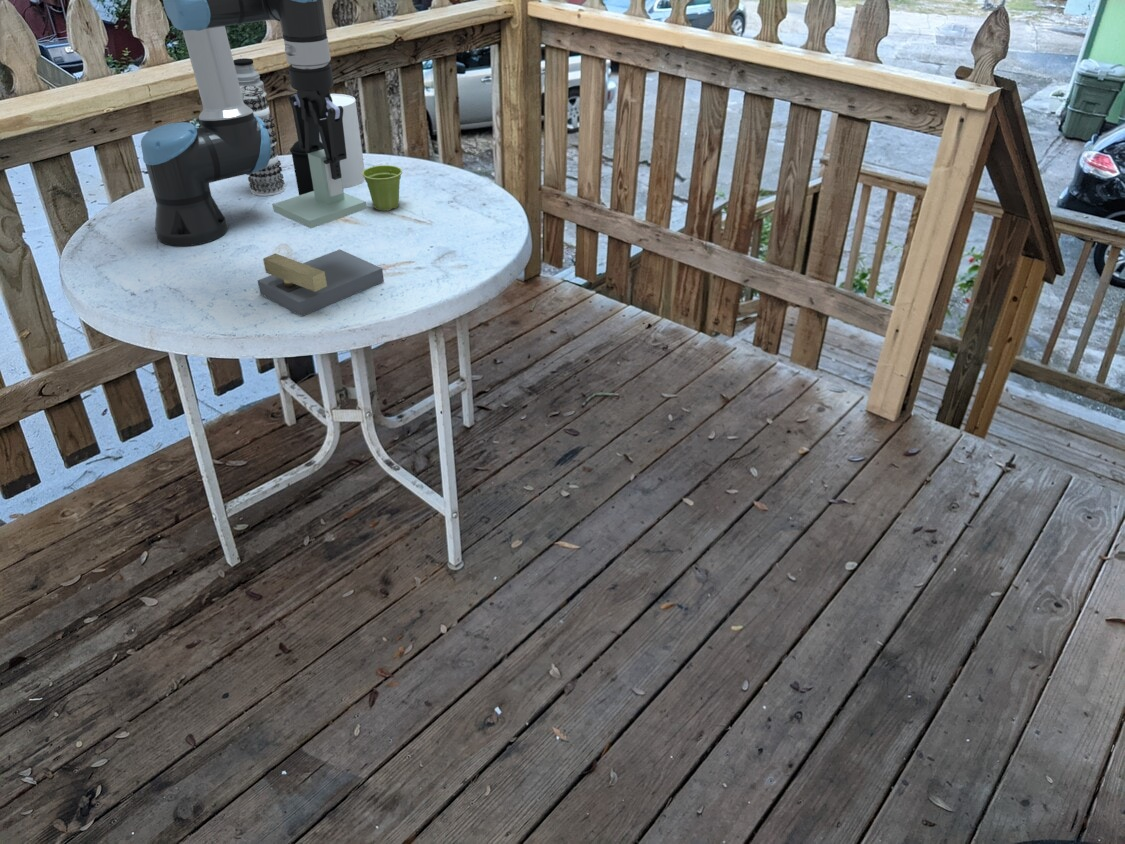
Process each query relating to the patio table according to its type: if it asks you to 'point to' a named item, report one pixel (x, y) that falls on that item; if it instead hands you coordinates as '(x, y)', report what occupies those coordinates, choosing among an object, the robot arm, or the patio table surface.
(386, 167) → the plant pot
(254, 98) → the decorative candle
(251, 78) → the thermos bottle
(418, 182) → the patio table surface
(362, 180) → the canister
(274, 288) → the plate
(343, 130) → the robot arm
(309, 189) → the aerosol can
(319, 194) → the cover
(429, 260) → the patio table surface
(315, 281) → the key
